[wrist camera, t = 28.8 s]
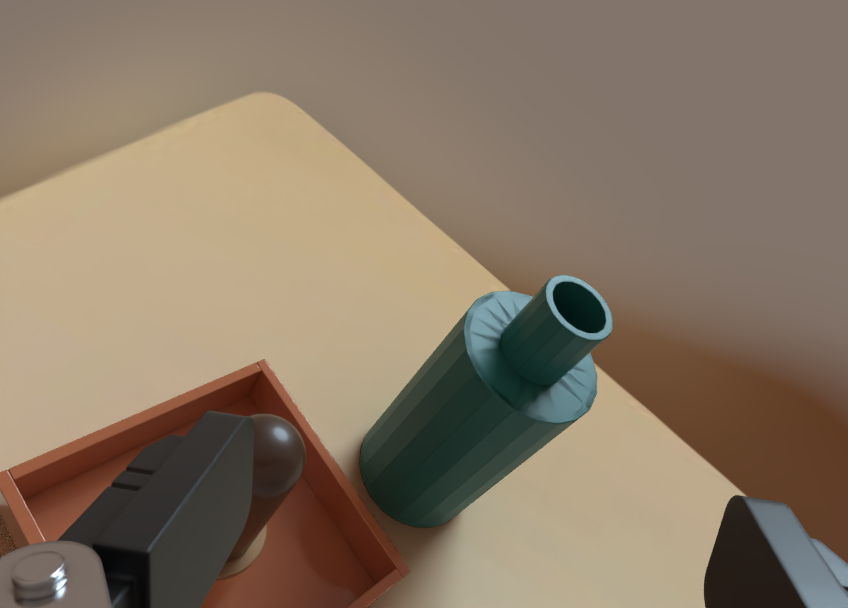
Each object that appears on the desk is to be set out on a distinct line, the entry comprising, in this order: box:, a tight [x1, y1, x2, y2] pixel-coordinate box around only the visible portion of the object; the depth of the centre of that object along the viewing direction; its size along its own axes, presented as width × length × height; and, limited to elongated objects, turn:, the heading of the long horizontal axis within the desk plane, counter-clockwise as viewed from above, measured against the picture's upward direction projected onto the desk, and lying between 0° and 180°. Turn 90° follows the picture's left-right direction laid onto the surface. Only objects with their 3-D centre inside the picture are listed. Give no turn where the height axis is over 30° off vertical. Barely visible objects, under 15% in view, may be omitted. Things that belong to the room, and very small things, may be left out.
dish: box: [0, 359, 410, 608], centre depth 34 cm, size 14×14×4 cm
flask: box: [360, 275, 613, 528], centre depth 37 cm, size 8×8×18 cm
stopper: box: [215, 414, 306, 581], centre depth 30 cm, size 5×5×13 cm
